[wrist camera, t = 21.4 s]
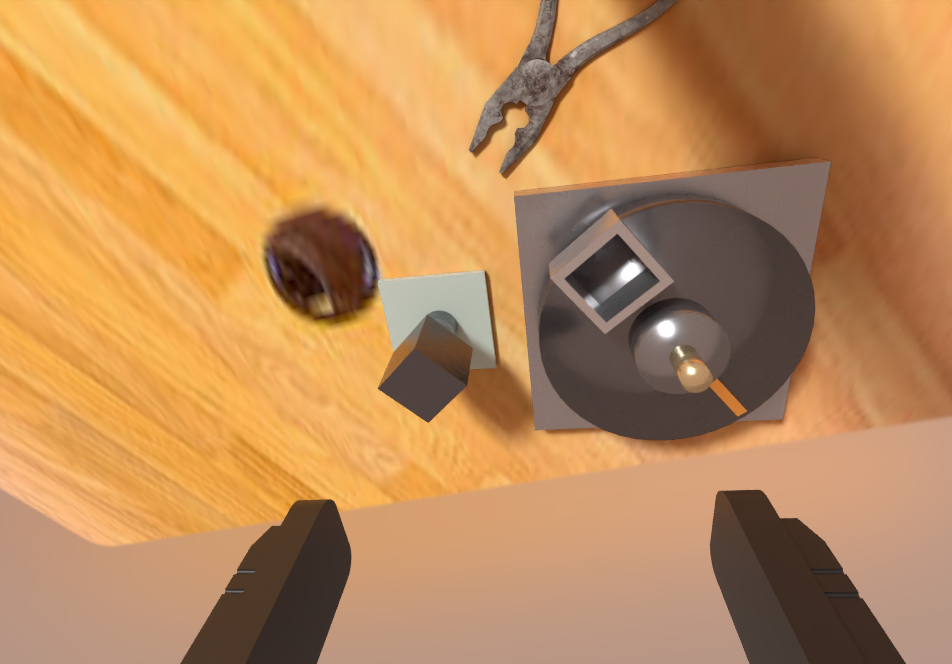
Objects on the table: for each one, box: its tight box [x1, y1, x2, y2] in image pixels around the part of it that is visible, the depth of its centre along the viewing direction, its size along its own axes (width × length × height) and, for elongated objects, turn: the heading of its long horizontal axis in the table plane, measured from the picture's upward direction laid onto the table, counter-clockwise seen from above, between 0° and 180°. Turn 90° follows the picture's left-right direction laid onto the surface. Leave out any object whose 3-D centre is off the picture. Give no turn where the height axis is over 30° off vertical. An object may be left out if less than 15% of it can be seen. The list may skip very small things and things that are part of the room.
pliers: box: [469, 0, 677, 174], centre depth 32 cm, size 10×1×20 cm
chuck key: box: [378, 310, 473, 423], centre depth 37 cm, size 4×4×9 cm
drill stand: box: [514, 158, 831, 430], centre depth 39 cm, size 21×21×2 cm
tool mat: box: [378, 270, 497, 370], centre depth 42 cm, size 9×9×1 cm
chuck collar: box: [538, 194, 815, 440], centre depth 33 cm, size 20×19×9 cm
